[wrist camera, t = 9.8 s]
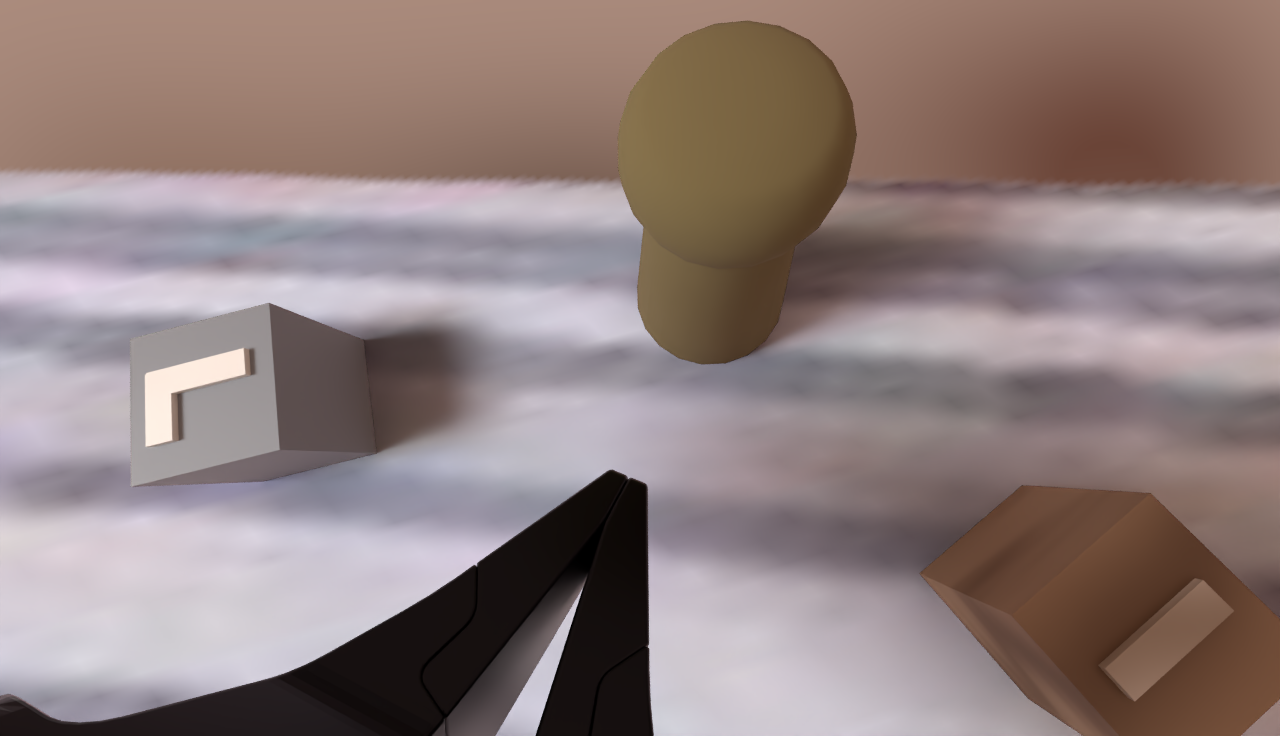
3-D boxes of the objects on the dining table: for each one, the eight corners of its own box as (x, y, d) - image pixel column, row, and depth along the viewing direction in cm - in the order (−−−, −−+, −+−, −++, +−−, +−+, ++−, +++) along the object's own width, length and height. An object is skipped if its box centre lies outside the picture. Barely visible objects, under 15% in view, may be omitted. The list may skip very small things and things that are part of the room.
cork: (734, 202, 21) (791, -82, 10) (812, 318, 19) (974, 138, 9) (611, 269, 21) (534, 56, 10) (681, 391, 19) (681, 299, 9)
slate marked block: (377, 453, 20) (274, 449, 15) (264, 481, 20) (123, 487, 15) (364, 340, 21) (264, 300, 16) (257, 368, 21) (123, 337, 16)
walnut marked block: (1133, 602, 17) (1332, 663, 12) (1026, 697, 16) (1183, 803, 11) (1020, 485, 18) (1157, 493, 13) (918, 573, 17) (1016, 618, 12)
